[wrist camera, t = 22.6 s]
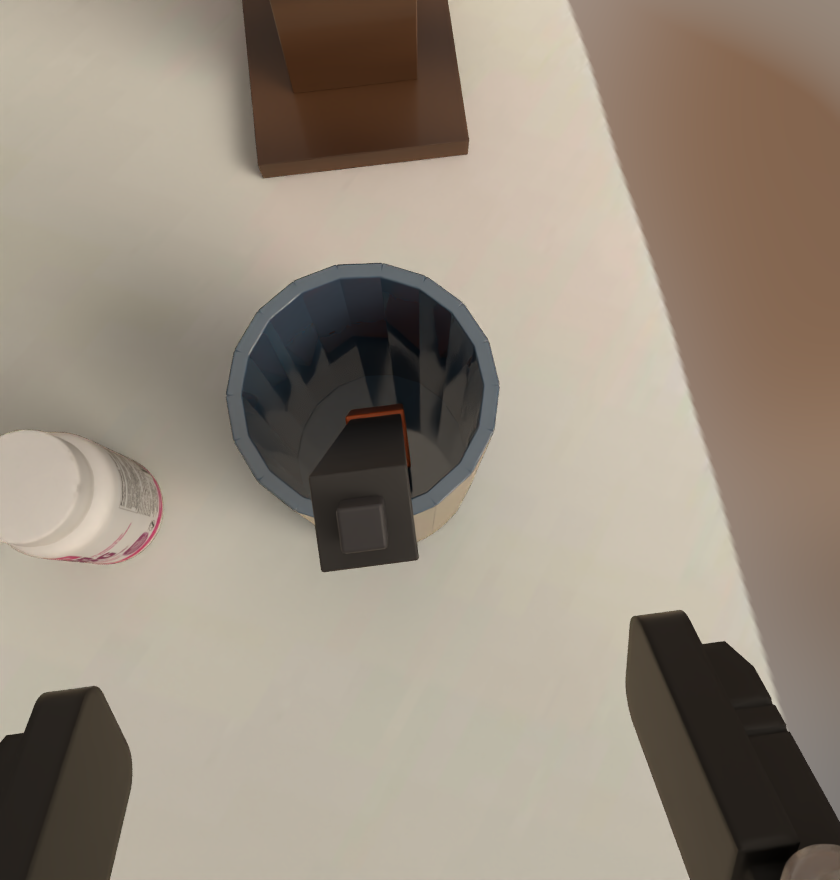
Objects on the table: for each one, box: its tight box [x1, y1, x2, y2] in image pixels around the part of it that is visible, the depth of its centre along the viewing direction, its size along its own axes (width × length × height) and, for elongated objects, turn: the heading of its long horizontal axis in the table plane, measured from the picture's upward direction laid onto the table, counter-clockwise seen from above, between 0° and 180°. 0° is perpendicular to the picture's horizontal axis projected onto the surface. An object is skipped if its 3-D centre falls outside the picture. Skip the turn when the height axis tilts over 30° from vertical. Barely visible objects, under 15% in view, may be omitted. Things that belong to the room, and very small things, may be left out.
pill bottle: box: [0, 429, 163, 564], centre depth 31 cm, size 5×5×8 cm
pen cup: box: [226, 263, 500, 542], centre depth 30 cm, size 8×8×12 cm
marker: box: [308, 404, 419, 572], centre depth 25 cm, size 20×2×2 cm
